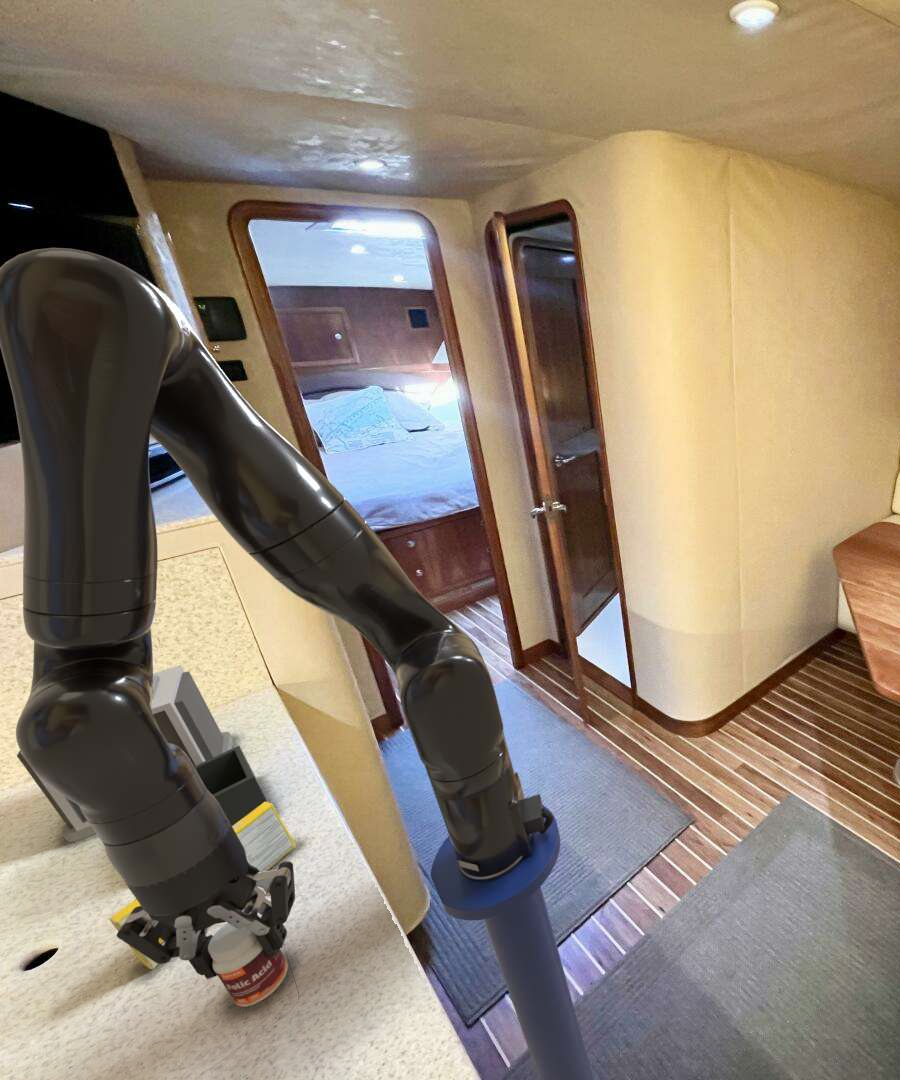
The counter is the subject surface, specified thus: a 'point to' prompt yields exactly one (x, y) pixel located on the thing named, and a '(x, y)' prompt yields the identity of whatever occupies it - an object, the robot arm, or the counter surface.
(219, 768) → the open storage box
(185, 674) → the crt monitor
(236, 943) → the pill bottle
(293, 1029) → the counter surface
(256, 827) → the candy box
